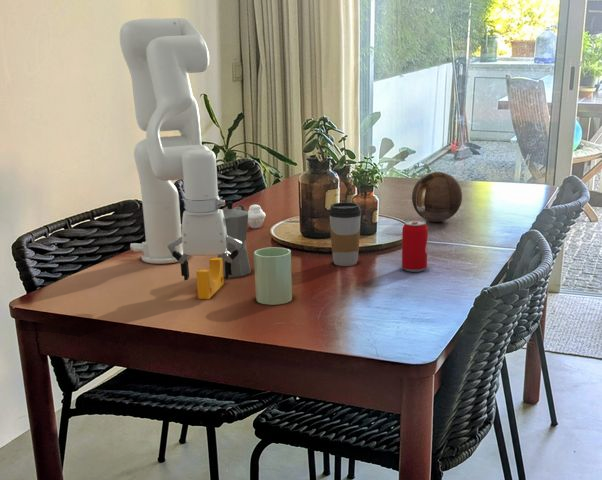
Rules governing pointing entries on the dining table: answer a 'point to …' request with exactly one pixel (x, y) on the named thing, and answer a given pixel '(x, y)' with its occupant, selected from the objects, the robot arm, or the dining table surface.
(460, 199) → the wooden sphere
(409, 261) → the beverage can
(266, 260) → the tumbler
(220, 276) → the yellow toy block
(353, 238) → the coffee cup
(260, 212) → the white rounded piece
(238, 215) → the coffeepot
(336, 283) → the dining table surface
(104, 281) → the dining table surface
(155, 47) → the robot arm
